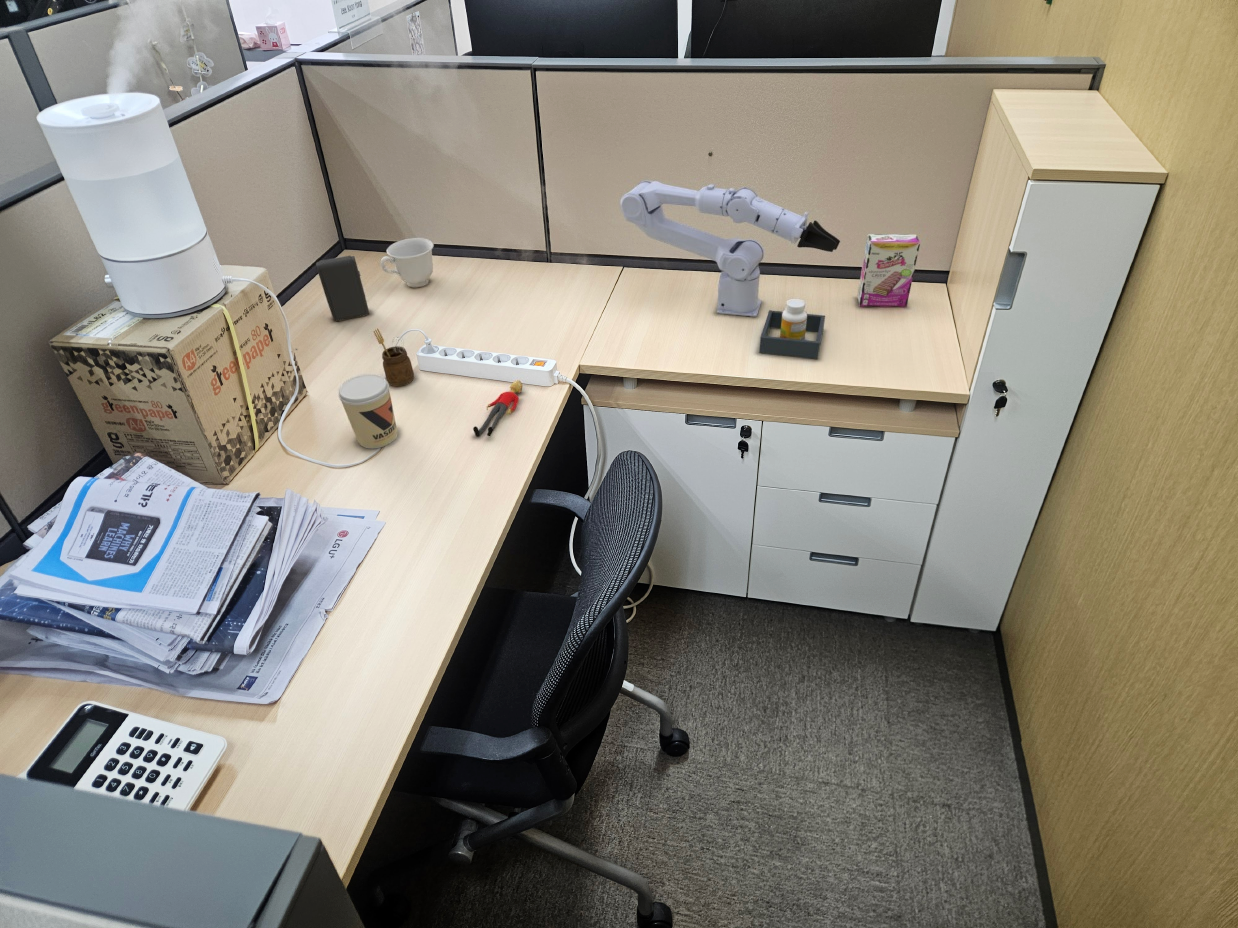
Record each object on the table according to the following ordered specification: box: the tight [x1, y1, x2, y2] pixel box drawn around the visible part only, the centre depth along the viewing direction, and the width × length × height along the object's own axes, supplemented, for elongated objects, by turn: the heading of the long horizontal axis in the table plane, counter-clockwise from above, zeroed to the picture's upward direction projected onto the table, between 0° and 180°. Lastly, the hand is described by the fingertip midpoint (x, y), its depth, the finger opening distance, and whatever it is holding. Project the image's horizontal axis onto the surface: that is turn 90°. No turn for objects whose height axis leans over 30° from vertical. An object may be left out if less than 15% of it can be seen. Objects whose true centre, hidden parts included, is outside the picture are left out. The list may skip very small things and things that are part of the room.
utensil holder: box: [373, 327, 415, 387], centre depth 169 cm, size 6×6×12 cm
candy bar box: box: [856, 233, 921, 308], centre depth 184 cm, size 11×5×16 cm, turn 84°
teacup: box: [380, 237, 435, 288], centre depth 207 cm, size 12×15×10 cm
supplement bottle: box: [779, 298, 808, 340], centre depth 174 cm, size 5×5×10 cm
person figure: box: [472, 379, 523, 438], centre depth 160 cm, size 5×4×18 cm
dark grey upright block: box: [315, 255, 370, 322], centre depth 193 cm, size 9×4×15 cm, turn 108°
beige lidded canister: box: [338, 373, 398, 449], centre depth 153 cm, size 9×9×12 cm
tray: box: [758, 309, 826, 360], centre depth 176 cm, size 13×13×4 cm
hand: (836, 246), depth 171 cm, fingers open, 7 cm apart
